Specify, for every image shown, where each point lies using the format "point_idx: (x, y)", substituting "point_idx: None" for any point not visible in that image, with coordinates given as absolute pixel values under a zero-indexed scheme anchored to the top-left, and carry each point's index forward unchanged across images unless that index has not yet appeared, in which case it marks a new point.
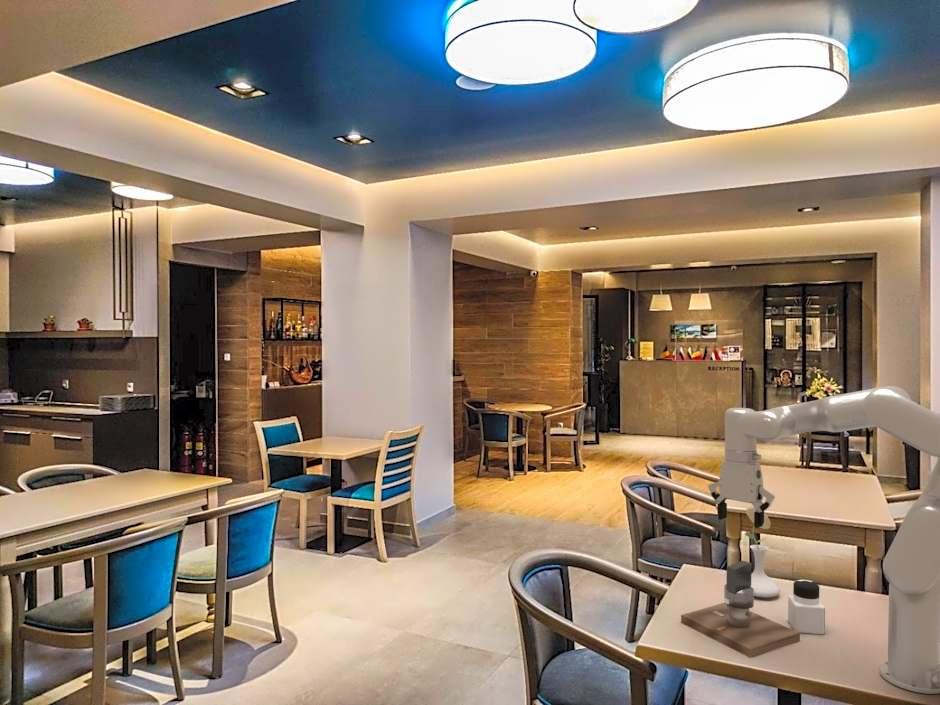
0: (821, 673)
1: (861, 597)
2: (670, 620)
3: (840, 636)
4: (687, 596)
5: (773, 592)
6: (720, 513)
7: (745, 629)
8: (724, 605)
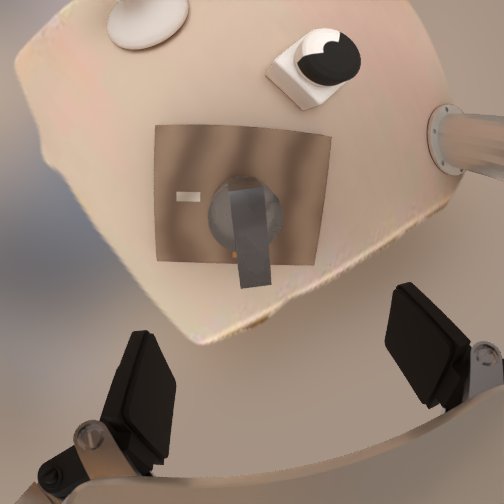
0: (390, 215)
1: None
2: (146, 264)
3: None
4: (81, 156)
5: (185, 13)
6: (169, 413)
7: None
8: (164, 148)
